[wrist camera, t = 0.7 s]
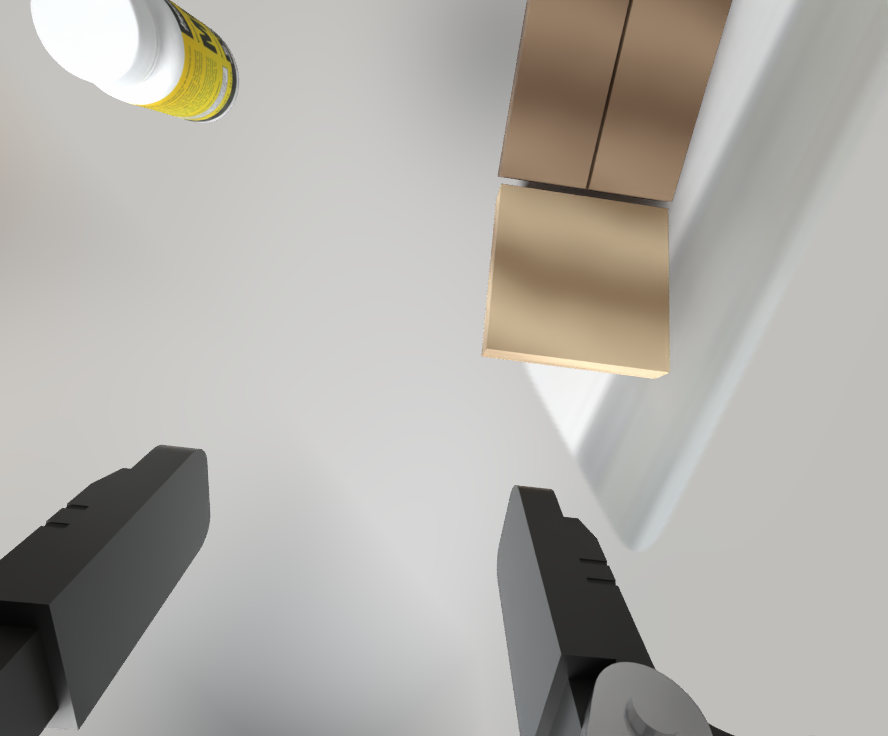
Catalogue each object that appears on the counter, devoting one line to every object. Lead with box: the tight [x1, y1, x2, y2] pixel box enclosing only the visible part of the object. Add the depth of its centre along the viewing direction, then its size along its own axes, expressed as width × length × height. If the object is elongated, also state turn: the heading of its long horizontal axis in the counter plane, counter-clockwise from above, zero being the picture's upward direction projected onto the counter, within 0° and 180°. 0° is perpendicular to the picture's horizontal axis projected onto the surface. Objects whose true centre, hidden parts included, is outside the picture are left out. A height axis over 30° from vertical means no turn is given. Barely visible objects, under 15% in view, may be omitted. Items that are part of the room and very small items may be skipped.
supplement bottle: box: [31, 0, 239, 123], centre depth 21 cm, size 5×5×8 cm
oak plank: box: [482, 184, 670, 379], centre depth 25 cm, size 10×10×2 cm
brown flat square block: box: [498, 0, 732, 202], centre depth 25 cm, size 10×10×2 cm
